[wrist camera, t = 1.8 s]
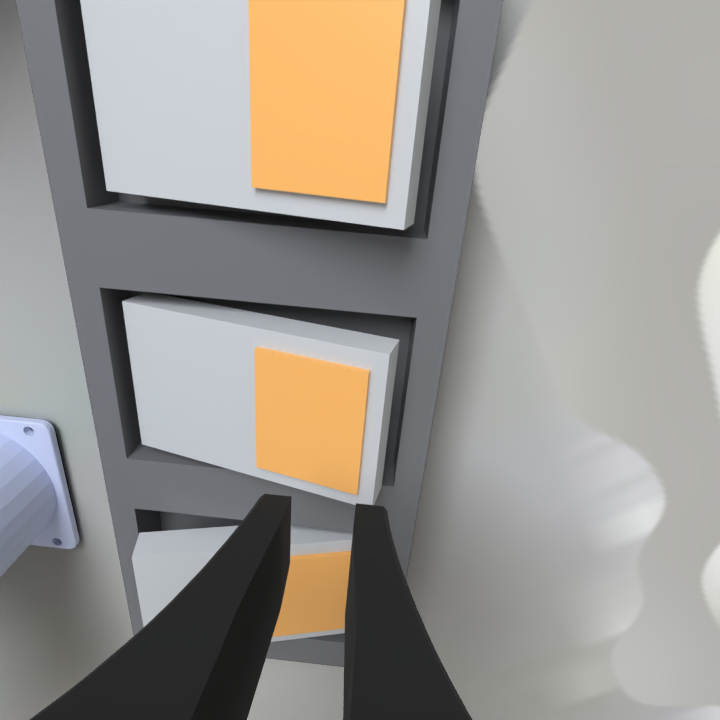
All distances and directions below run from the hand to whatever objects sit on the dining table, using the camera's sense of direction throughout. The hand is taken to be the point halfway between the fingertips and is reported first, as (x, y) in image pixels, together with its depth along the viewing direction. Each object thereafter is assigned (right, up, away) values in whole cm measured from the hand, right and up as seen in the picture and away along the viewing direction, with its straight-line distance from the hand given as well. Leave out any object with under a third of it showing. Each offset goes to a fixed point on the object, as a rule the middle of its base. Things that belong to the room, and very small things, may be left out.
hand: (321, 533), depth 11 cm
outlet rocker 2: (-3, -5, +9) cm, 11 cm away
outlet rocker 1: (-3, +3, +5) cm, 6 cm away
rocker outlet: (-2, +11, +1) cm, 11 cm away
